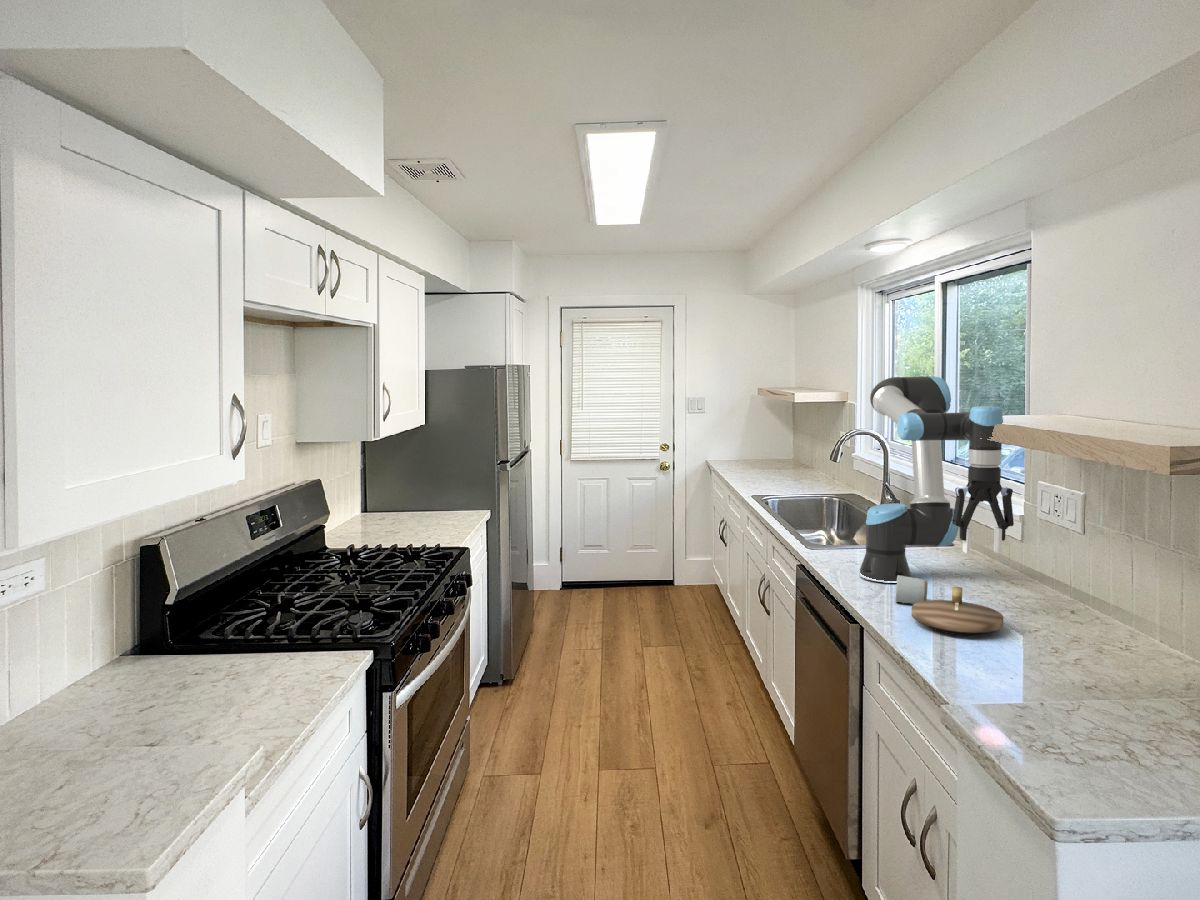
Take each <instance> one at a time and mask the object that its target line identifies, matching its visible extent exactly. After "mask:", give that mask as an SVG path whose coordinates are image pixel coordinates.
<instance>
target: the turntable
mask: <svg viewBox="0 0 1200 900" xmlns="http://www.w3.org/2000/svg"><path fill="white" fill-rule="evenodd" d="M951 591H952V592H951V593H952V594H951V600H949V599H947V600H945V599H935V600H934V599H932V600H926V601H922V602H918V603H915V604H911V618H912V619H914V620H915V621H917V622H918V623H921V624H923V625H926V626H928V627H929V626H931V627H935V628H939V629H944V630H949V631H957V632H969V633H982V632H985V633H991V632H995V631H996V632H997V631H999V630H1001V629H1003V627H1004V615H1003V614H1002V613H1001V612H999V611H998V610H996V609H993V608H990V607H987V606H984V605H982V604H977V603H972V602H968V601H967V602H966V601H963V587H962V586H952V587H951ZM931 627H930V628H931ZM982 634H983V633H982Z"/></svg>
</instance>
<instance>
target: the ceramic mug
mask: <svg viewBox="0 0 1200 900" xmlns="http://www.w3.org/2000/svg"><path fill="white" fill-rule="evenodd" d="M895 585H896V586H895V598H894V602H895V603H896V602H902V603H901V604H904V603H911V604H910V605H914V604H915V603H918V602H922V601H928V600H927V598H928V597H927V596H928V585H929V582H928V581H927V580H925V579H922V578H917V577H912V576H911V577H906V576H900V575H898V576H897V584H895Z"/></svg>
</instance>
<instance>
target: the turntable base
mask: <svg viewBox="0 0 1200 900" xmlns="http://www.w3.org/2000/svg"><path fill="white" fill-rule="evenodd" d="M928 627H929V628H931V629H933V630H935V629H936V630H935V631H938V630H939V631H938V632H941V631H942V633H945V632H947V633H946V634H951V633H954V634H953V635H958V634H962V635H961V636H975V635H976V634H977V636H978V635H983V634H985V633H986V632H982V633H969V632H957V631H949V630H944V629H939V628H935V627H931V626H928Z"/></svg>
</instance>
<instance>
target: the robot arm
mask: <svg viewBox="0 0 1200 900" xmlns="http://www.w3.org/2000/svg"><path fill="white" fill-rule="evenodd" d="M869 396H870V397H869V401H870V405H871V407H872V408H873V410H874V411H876V412H877V413H878V414H880V415H882V416H886V417H888V418H889V419H890V420H891V421H893V422H894V423H895V424H896V425H897V426H896V428H897V429H896V430H897V433H898V438H899V439H901V440H902V441H911V452H912V471H913V490H914V498H913V499H912V500H911V502H909V505H910V506H909V508H907V505H906V504H904V503H892V502H891V503H890V502H889V503H882V504H881V503H880V504H877V505H873V506H871V507H870V508H868V509H867V513H866V520H865V524H866V530H865V531H866V532H865V535H866V536H865V537H866V538H865V541H866V542H865V554H864V558H863V560H862V562H861V564H860V568H859V574H860V573H861V574H862V575H864V576H866V577H869V578H872V579H876V580H884V581H897V576H898V575H900V576H906V577H912V575H911V574H912V572H911V568H910V566H909V562H908V561H907V557H906V546H907V547H909V546H911V547H913V546H914V547H925V546H926V547H942V546H949V545H951V544H952V543H953V542H955V540H956V539H957V535H958V532H959V540H961V541H962V552H964V553H965V554H969V555H970V553H971V528H969V524H970V522H971V520H972V517H973V515H974V514H975V510H976V508H978V507H977V506H978V505H979V504H980V502H981V503H982V502H988V504H989V506H990V508H991V512H992V514H993V517H994V519H995V521H996V525H997V526H998V527H997V526H995V527H994V528H993V530H994V531H993V533H994V534H993V552H994V553H996V554H999V555H1002V544H1003V543H1002V542H1003V541H1005V540H1006V530H1008V528H1009V527H1013V526H1014V524H1015V523H1014V522H1015V521H1014V512H1013V503H1012V496H1013V492H1014V490H1013V488H1009V487H1007V486H1006V487H1004V486H1002V485H1001V479H1002V476H1001V475H1002V468H1001V467H1000V466H1001V465H1002V445H1003V444H1002V443H1003V442H1002V443H999V442H995V441H990V440H987V439H991V438H989V437H993V436H992V432H993V429H994V426H995V425H997V424H1002V423H1003V424H1004V418H1003V409H1002V407H1000V406H998V405H997V406H991V405H987V406H986V405H983V406H981V405H979V406H972V407H971V408H970V410H969V411H961V412H949V411H950V409H951V403H952V396H951V390H950V387H949V385H948V383H947V381H946V380H944V378H943V377H940V376H930V375H927V376H894V377H893V376H892V377H888V378H886V379H883V380H881V381H880V382H879V383H877V384H876V385H875V386H874V387H873V389H872V390H871V393H870V395H869ZM980 438H982V439H980ZM942 441H969V443H968V464H969V466H968V469H967V484H966V486H965V487H964V486H963V487H956V488H955V489H954V492H955V494H956V498H955V502H954V503H955V504H954V508H952V507H951V502H950V501H949V500H948V499H947V498H946V497H945V487H944V485H945V483H944V471H943V470H944V468H943V456H942V455H943V454H942V453H943V452H942ZM967 494H969V495H970V496H969V498H968V503H967V506H966V507H965V510H964V506H965V501H966V500H965V499H966V497H965V496H966V495H967ZM999 494H1001V498H1002V508H1003V509H1002V510H1003V512H1002V510H1001V507H1000V505H999V500H998V497H997V496H998V495H999ZM963 511H964V512H963Z"/></svg>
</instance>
